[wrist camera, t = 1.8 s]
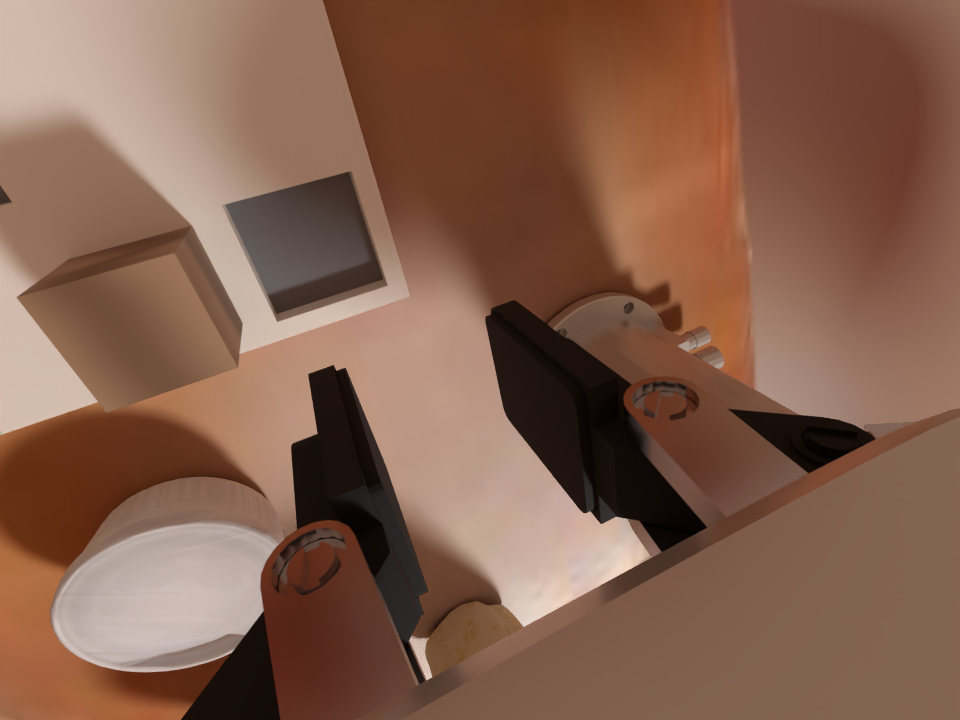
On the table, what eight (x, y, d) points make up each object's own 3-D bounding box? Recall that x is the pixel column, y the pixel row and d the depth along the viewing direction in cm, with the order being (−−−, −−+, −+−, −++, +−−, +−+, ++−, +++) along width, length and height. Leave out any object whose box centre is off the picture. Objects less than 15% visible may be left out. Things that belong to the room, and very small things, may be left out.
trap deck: (296, -69, 19) (299, -81, 18) (403, 288, 28) (410, 296, 26) (-731, 75, 13) (-837, 71, 12) (-185, 484, 21) (-213, 507, 20)
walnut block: (192, 225, 21) (174, 252, 17) (242, 323, 24) (237, 367, 19) (68, 259, 20) (16, 297, 16) (135, 357, 22) (106, 412, 18)
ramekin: (112, 617, 30) (86, 703, 26) (54, 480, 25) (9, 557, 21) (299, 570, 34) (303, 636, 30) (280, 444, 29) (283, 501, 25)
